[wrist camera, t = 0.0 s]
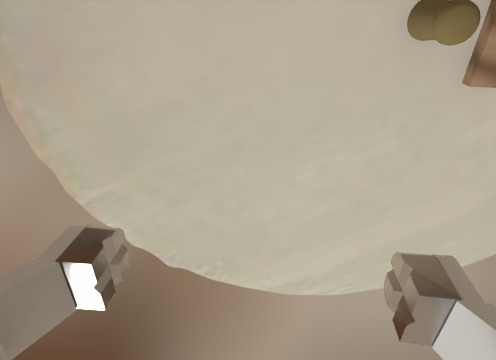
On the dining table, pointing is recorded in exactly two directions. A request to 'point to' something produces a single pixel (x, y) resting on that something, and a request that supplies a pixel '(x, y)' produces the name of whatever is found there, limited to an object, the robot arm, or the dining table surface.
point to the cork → (443, 21)
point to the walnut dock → (484, 54)
